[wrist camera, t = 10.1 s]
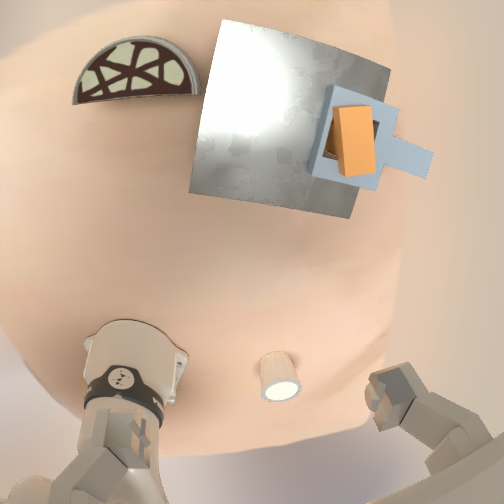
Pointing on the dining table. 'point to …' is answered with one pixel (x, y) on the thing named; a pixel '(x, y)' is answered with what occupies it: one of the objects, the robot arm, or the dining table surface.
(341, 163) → the orange t-shaped block
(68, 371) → the dining table surface
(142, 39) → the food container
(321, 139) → the bracket
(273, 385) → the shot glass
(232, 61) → the metal plate
